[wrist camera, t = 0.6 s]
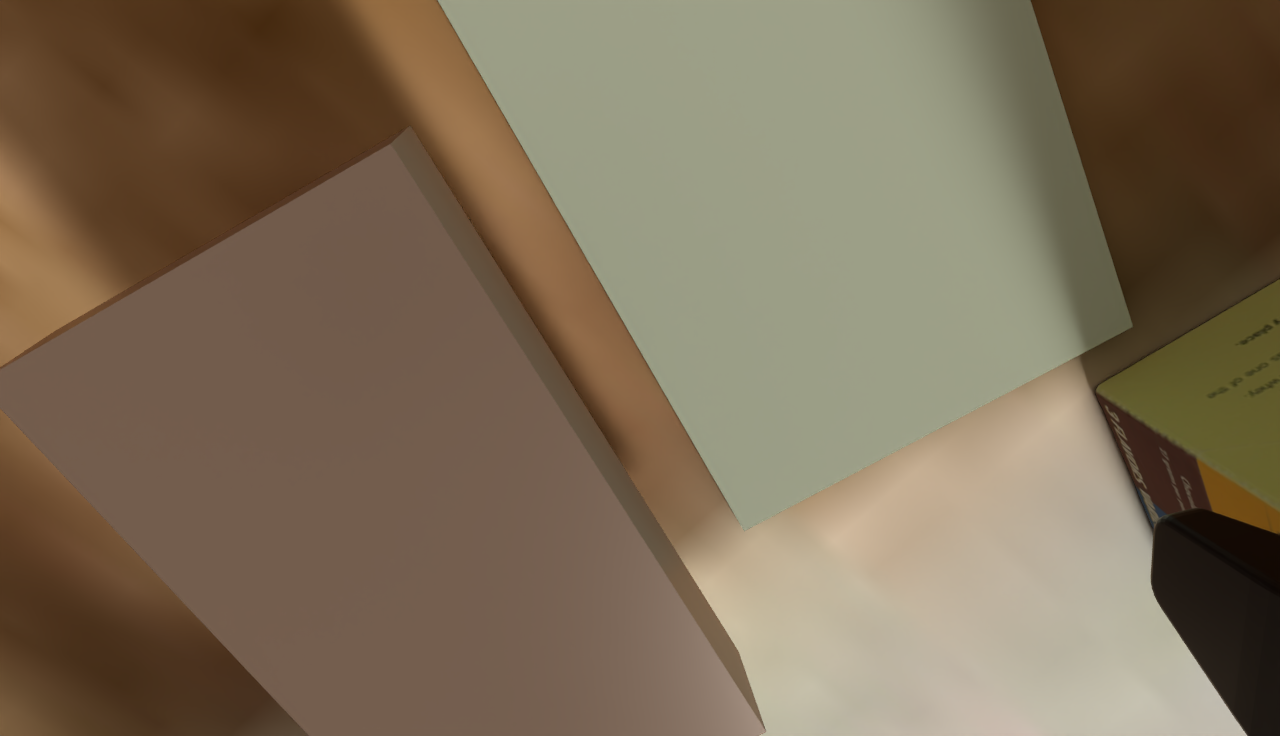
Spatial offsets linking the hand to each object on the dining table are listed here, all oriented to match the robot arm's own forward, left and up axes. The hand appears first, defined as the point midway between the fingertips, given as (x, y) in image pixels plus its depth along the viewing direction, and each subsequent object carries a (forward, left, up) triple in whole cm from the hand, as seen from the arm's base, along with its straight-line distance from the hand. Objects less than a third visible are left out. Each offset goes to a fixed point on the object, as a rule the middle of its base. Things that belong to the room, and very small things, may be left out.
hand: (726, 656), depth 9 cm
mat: (+6, +1, -13) cm, 14 cm away
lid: (-5, -1, -9) cm, 11 cm away
